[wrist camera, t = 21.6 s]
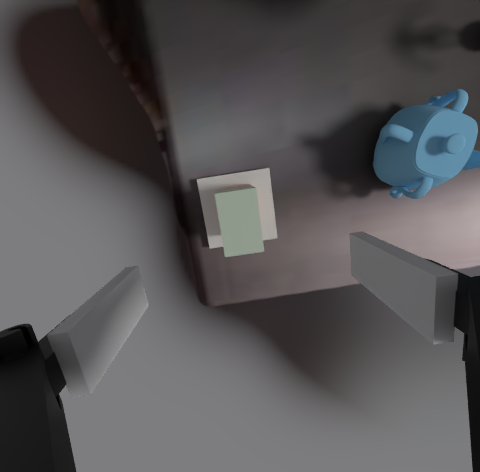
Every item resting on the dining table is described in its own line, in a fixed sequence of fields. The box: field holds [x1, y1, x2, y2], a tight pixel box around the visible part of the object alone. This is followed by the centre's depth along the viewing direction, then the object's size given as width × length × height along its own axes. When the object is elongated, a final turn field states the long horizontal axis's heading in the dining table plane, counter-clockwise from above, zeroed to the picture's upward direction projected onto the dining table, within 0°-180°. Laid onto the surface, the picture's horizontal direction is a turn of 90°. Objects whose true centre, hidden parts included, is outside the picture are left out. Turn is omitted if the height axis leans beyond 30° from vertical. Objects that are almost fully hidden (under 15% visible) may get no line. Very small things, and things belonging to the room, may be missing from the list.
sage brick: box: [215, 186, 264, 257], centre depth 33 cm, size 8×5×6 cm, turn 8°
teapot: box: [372, 89, 480, 199], centre depth 36 cm, size 13×14×11 cm
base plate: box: [197, 168, 277, 248], centre depth 42 cm, size 12×12×1 cm
